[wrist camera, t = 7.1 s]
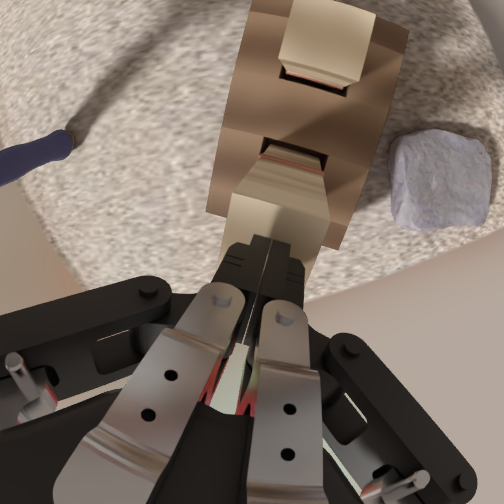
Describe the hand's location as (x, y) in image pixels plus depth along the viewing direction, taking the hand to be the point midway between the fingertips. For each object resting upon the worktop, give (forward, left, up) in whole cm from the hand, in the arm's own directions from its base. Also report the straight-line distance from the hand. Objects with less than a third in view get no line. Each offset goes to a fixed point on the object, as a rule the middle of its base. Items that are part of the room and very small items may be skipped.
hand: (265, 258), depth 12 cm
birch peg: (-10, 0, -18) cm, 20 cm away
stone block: (-4, +15, -19) cm, 25 cm away
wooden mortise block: (-5, 0, -19) cm, 19 cm away
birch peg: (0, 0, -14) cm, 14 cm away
